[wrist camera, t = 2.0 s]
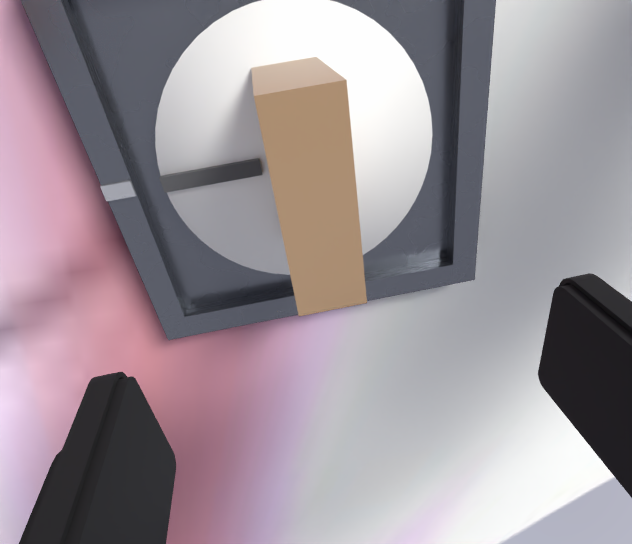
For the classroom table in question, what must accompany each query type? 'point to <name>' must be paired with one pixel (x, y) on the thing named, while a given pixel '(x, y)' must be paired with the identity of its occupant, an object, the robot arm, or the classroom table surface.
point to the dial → (295, 142)
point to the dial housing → (155, 206)
